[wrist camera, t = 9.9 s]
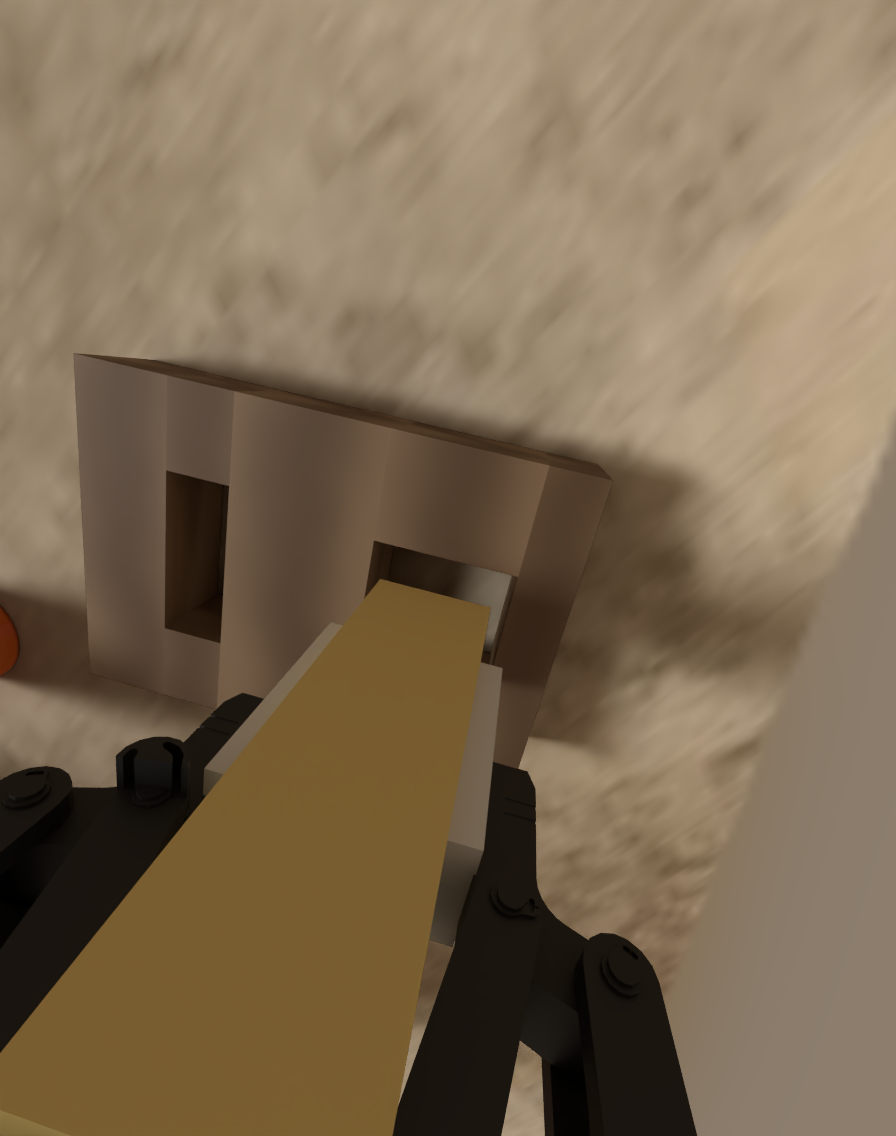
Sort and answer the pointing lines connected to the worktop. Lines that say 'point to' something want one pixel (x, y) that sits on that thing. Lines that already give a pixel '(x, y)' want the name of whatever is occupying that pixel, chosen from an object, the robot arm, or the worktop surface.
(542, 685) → the socket block
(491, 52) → the worktop surface
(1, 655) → the coffee cup
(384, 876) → the square peg
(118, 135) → the worktop surface
